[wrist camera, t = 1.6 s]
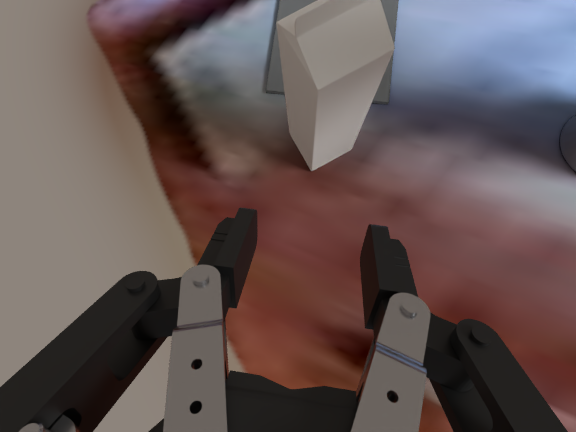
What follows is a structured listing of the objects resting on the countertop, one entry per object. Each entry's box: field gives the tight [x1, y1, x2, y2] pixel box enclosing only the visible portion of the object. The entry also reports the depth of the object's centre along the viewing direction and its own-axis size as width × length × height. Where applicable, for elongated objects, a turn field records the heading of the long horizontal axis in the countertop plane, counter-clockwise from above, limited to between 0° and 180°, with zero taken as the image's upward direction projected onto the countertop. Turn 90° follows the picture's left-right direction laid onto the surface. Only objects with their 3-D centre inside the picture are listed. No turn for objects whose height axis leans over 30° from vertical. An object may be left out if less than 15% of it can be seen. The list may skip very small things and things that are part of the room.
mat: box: [266, 0, 398, 104], centre depth 41 cm, size 23×16×1 cm
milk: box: [276, 0, 395, 171], centre depth 28 cm, size 6×6×22 cm
